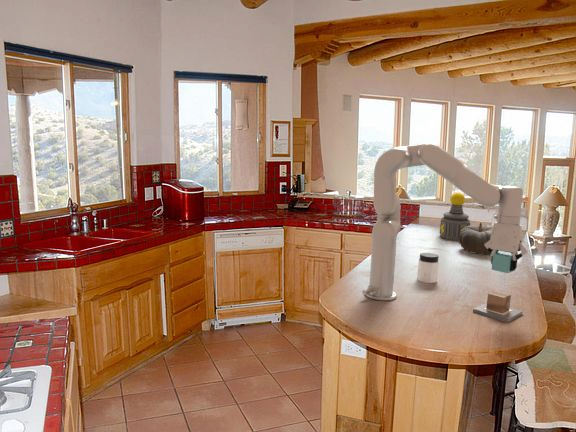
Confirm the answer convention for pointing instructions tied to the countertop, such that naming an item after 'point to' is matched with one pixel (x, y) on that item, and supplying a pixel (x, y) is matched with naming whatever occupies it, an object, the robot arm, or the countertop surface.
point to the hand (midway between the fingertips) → (503, 267)
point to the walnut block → (498, 301)
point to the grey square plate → (504, 316)
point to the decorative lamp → (454, 219)
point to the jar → (428, 268)
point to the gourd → (475, 238)
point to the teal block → (502, 262)
